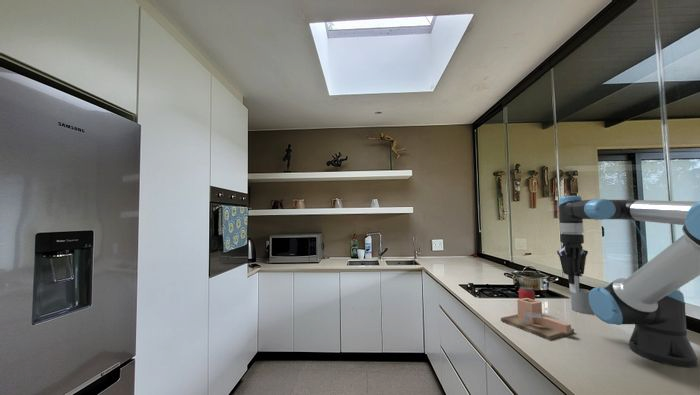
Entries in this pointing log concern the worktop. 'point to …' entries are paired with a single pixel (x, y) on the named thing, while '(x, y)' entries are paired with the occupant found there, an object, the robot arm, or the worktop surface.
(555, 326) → the link
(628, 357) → the worktop surface
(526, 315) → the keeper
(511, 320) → the board
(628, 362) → the worktop surface
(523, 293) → the beer can
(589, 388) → the worktop surface
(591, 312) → the cup
